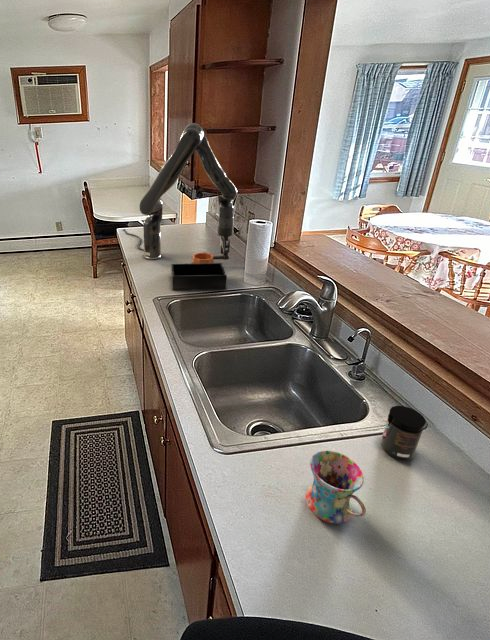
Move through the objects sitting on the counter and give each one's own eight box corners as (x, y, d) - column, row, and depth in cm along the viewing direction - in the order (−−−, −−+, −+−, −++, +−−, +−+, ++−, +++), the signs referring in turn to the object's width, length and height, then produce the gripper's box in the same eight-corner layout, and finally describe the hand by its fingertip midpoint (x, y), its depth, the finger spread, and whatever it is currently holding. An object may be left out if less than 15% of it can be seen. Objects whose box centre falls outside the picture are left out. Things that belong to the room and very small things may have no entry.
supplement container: (404, 439, 94) (415, 406, 90) (419, 463, 88) (432, 428, 84) (374, 438, 95) (384, 404, 91) (387, 461, 89) (398, 426, 85)
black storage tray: (171, 276, 188) (171, 263, 186) (220, 276, 187) (221, 263, 184) (172, 290, 175) (172, 276, 172) (225, 289, 173) (226, 275, 170)
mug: (293, 493, 83) (299, 457, 78) (329, 480, 85) (337, 445, 81) (335, 549, 72) (346, 510, 68) (375, 533, 75) (388, 495, 70)
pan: (193, 268, 197) (194, 259, 195) (192, 260, 206) (192, 252, 204) (229, 267, 196) (230, 259, 194) (226, 260, 205) (227, 252, 203)
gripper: (236, 229, 185) (234, 261, 191) (231, 221, 198) (229, 251, 204) (220, 229, 186) (218, 261, 192) (216, 221, 199) (214, 251, 205)
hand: (224, 256), depth 198 cm, fingers open, 8 cm apart
